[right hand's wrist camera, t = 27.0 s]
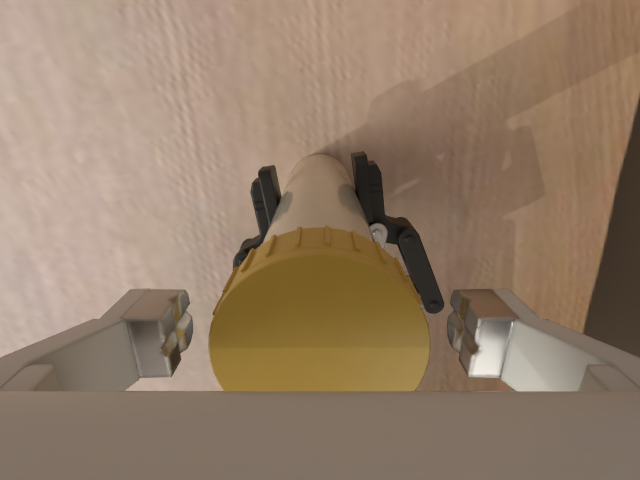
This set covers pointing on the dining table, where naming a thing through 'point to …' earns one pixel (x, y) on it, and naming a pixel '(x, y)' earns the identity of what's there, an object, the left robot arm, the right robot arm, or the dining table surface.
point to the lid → (319, 318)
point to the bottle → (319, 199)
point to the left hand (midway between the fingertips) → (311, 162)
